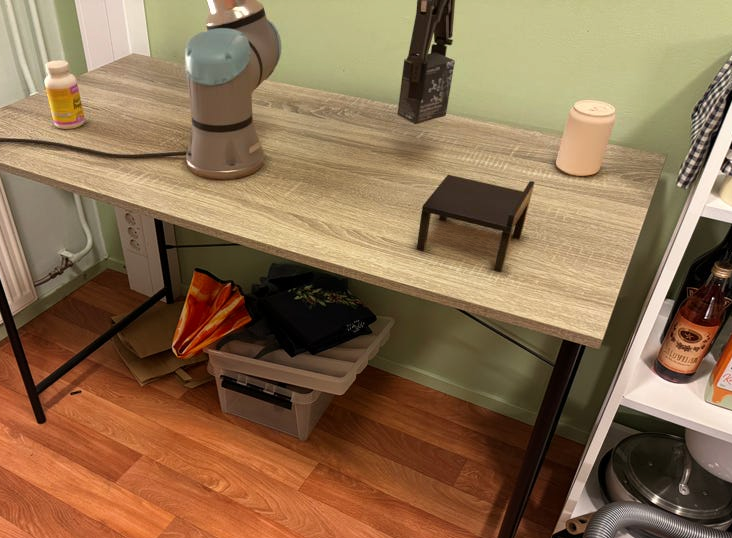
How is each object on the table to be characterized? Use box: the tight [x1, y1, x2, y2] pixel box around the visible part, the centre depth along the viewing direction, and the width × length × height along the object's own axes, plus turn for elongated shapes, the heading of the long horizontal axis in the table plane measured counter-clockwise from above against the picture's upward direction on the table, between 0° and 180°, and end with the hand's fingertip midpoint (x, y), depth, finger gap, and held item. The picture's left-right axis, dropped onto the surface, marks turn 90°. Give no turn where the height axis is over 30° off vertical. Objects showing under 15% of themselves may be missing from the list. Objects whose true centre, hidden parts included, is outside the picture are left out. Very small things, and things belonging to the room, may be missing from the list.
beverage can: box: [555, 99, 617, 177], centre depth 128 cm, size 8×8×12 cm
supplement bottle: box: [44, 59, 86, 130], centre depth 146 cm, size 7×7×13 cm
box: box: [397, 52, 456, 125], centre depth 127 cm, size 8×6×11 cm
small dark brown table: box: [416, 174, 535, 273], centre depth 109 cm, size 14×12×10 cm
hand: (425, 89), depth 127 cm, fingers closed on box, 9 cm apart
